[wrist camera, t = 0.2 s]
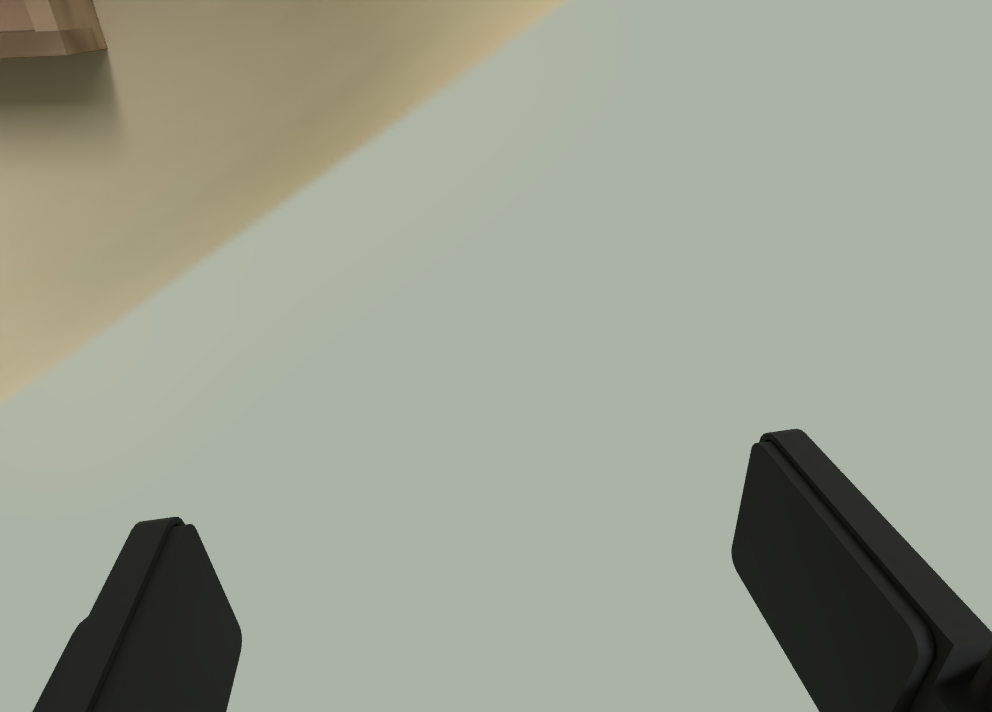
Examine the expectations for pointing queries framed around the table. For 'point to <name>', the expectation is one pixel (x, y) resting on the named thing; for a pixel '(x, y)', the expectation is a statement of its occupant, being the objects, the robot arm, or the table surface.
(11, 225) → the table surface
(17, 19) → the rack
